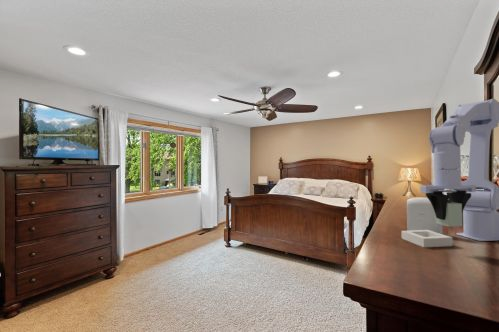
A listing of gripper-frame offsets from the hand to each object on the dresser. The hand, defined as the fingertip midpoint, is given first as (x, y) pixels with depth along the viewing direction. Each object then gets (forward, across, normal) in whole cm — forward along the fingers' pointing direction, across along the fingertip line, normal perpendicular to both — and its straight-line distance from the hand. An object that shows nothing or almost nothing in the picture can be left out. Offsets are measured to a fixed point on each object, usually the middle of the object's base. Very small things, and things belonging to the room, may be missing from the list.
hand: (448, 218), depth 67 cm
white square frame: (+9, 0, -8) cm, 12 cm away
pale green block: (+2, 0, 0) cm, 2 cm away
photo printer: (+9, -8, -18) cm, 22 cm away
